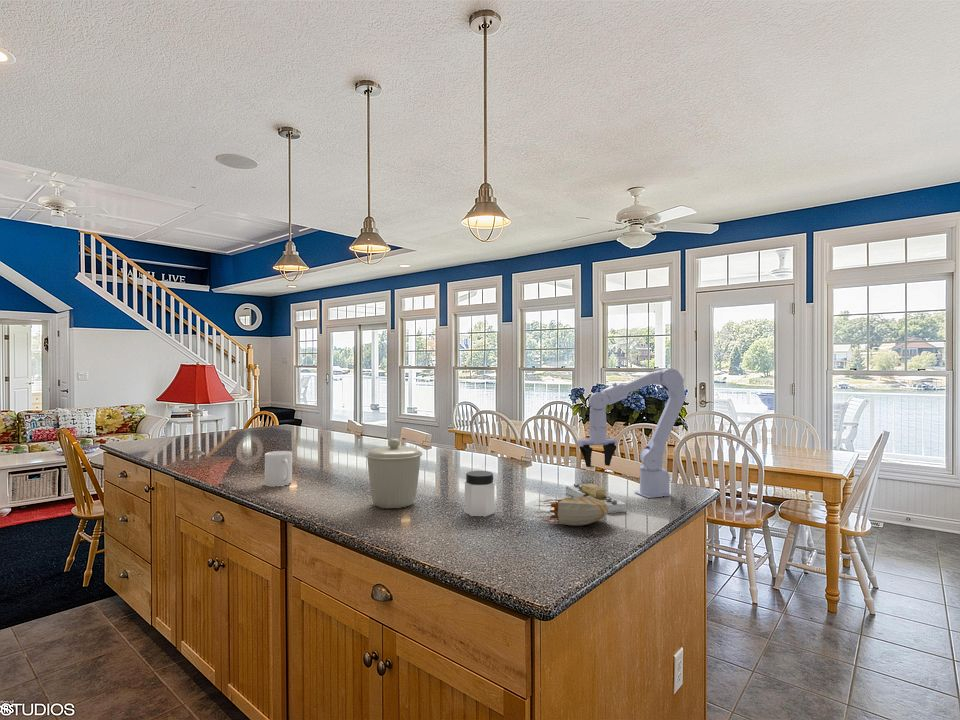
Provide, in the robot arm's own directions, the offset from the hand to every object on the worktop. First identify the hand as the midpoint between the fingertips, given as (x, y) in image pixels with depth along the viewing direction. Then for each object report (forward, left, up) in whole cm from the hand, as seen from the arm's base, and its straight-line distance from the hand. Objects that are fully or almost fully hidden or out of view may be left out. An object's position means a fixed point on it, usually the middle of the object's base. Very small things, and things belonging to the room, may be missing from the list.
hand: (597, 465), depth 184 cm
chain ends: (+8, +10, -9) cm, 16 cm away
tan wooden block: (+8, +10, -10) cm, 16 cm away
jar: (+47, +10, -10) cm, 49 cm away
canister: (+70, -7, -10) cm, 71 cm away
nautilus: (+26, +27, -10) cm, 39 cm away
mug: (+105, -47, -10) cm, 115 cm away
